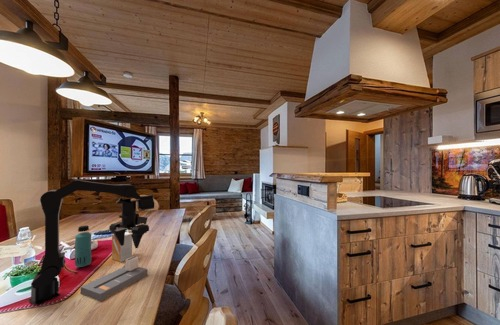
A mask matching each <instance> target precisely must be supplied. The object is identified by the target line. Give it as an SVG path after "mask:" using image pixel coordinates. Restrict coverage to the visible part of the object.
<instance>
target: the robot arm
mask: <svg viewBox="0 0 500 325" xmlns="http://www.w3.org/2000/svg"><path fill="white" fill-rule="evenodd" d="M76 191H86V192H95V193H96V192H97V193H107V194H112V195H116V196H119V199H117V200H116V202H115V203H116V204H117V205H118V204H119V205H121V214H120V215H119V217H118V218H121V221H119V222H118V221H117V222H115V223H114V222H113V223H111V224H110V225H109V227H108V228H109V229H108V230H109V231H110V232H111V233H112V235H113V234H114V236H115V237H116V238H117V240H118V242H119V243H120V245H121V246H123V245H124V238H125V232H127V230H128V231H131V234H132V235H131V236H132V244H133V246H134V249H138V248H139V246H140V243H141V240H142V237H143V236H144V235H145V234H146V233H147V232H149V231H150V225H148V224H147V222H148V219H149V218H148V217H145V216H140V214H139V213H138V212H137V209H138V210H139V212H141V211H148V210H154V209H155V199H154V195H153V194H148V195H140V194H139V193H138V192H137V187H136V186H135V185H132V184H130V183H128V184H127V183H125V184H124V183H123V184H121V183H120V184H110V183H103V182H96V181H95V182H94V181H88V180H81V179H73V180H72V181H71V182H69V183H67V184H66V185H63V186H62V187H60V188H58V189H51V190H49V191H46V192H44V193H43V194H42V195H41V196H40V199H39V202H40V204H41V205H40V206H41V209H42V211H43V214H44V257H43V260H42V264H41V267H40V270H39V271H38V272H37V273H36V274H35V275H34V278H33V280H32V281H31V283H30V286H31V287H30V290H31V291H30V298H29V299H28V302H29V303H31V304H33V305H35V306H40V305H41V304H43V303H46V302H48V301H50V300H53V299H54V298H57V297H59V296H60V293H59V290H60V289H59V288H60V281H59V280H58V276H59V275H60V274H61V272H62V269H63V268H65V265H66V259H65V255H66V251H63V252H62V251H61V250H60V211H61V209H62V204H63V199H64V198H65V197H67V196H69V195H71V194H73V193H75V192H76ZM122 197H123V198H122ZM131 198H133V199H131Z"/></svg>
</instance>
